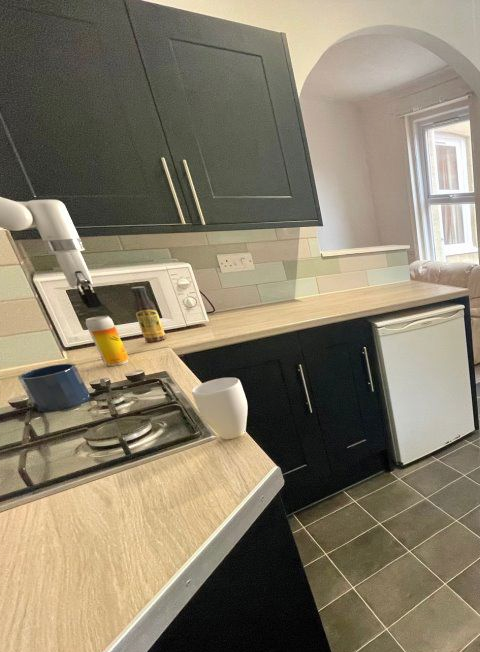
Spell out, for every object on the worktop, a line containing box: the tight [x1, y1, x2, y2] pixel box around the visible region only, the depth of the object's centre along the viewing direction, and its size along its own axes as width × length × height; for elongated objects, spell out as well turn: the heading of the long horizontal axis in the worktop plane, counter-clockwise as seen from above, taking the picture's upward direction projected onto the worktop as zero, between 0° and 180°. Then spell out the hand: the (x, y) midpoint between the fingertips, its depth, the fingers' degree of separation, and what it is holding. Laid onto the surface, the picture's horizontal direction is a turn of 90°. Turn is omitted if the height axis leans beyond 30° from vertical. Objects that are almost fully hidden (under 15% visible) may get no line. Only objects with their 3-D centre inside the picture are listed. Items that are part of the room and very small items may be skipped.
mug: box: [191, 377, 249, 440], centre depth 87 cm, size 12×8×11 cm
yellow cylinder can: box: [85, 315, 130, 367], centre depth 132 cm, size 6×6×15 cm
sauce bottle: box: [130, 286, 166, 343], centre depth 154 cm, size 6×6×20 cm
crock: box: [17, 363, 92, 413], centre depth 106 cm, size 10×10×9 cm
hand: (92, 305), depth 127 cm, fingers open, 9 cm apart
